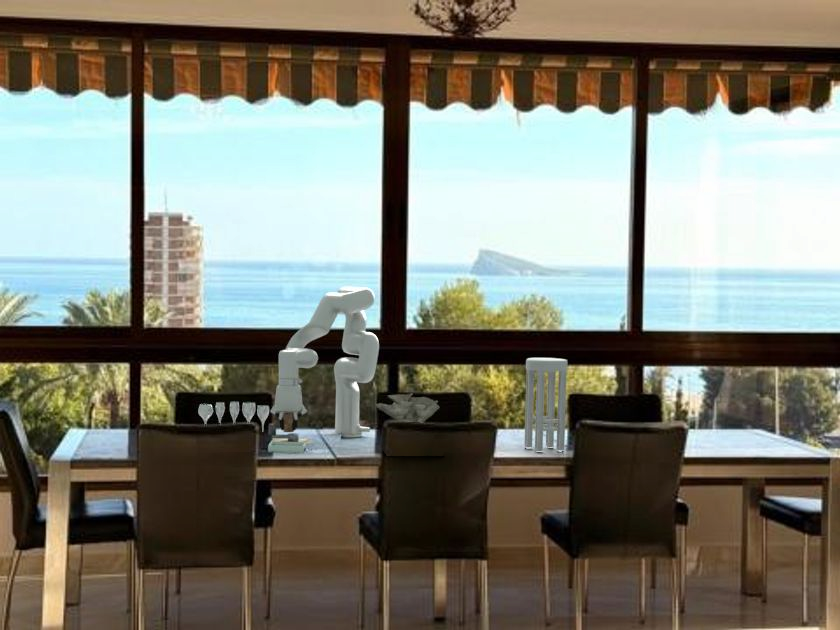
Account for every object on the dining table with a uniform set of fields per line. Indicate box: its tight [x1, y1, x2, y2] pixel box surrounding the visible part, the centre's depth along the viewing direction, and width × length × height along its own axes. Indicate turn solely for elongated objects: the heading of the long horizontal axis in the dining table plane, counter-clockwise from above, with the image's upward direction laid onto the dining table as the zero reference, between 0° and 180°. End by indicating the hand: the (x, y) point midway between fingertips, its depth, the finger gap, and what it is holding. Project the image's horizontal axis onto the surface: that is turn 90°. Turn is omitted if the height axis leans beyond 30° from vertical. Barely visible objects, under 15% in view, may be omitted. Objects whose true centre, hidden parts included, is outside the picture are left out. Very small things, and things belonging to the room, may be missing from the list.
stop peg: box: [282, 412, 295, 433], centre depth 475 cm, size 4×4×7 cm
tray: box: [267, 440, 307, 454], centre depth 457 cm, size 13×10×2 cm
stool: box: [524, 357, 568, 452], centre depth 473 cm, size 16×16×35 cm
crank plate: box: [268, 438, 313, 446], centre depth 471 cm, size 15×15×2 cm
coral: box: [375, 392, 441, 424], centre depth 460 cm, size 25×20×22 cm
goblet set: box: [197, 401, 270, 433], centre depth 494 cm, size 28×6×13 cm, turn 94°
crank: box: [268, 423, 300, 442], centre depth 469 cm, size 11×4×6 cm, turn 90°
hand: (288, 429), depth 475 cm, fingers closed on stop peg, 4 cm apart
